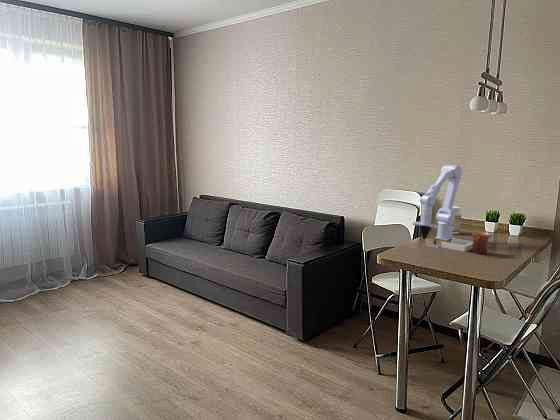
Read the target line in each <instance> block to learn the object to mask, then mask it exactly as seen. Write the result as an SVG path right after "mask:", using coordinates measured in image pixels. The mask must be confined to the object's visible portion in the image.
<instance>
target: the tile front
mask: <svg viewBox="0 0 560 420" xmlns="http://www.w3.org/2000/svg"><path fill="white" fill-rule="evenodd" d="M441 242H447V243H450V242H449V240H443V239H437V240H436V243H435V244H437V245H441Z"/></svg>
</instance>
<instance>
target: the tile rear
mask: <svg viewBox="0 0 560 420" xmlns="http://www.w3.org/2000/svg"><path fill="white" fill-rule="evenodd" d="M436 240H438V239H437V238H435V237H428V236H427V238H426V239H424V242H425V244H426V243H430V244H436Z"/></svg>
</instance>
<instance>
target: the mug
mask: <svg viewBox="0 0 560 420" xmlns="http://www.w3.org/2000/svg"><path fill="white" fill-rule="evenodd" d="M471 234H472V241H473V243H472V249H471V251H472V253H474V254H477V255H486V254H487V253H488V248H489V239H490V237H491V233H488V232H481V231H473V232H472V233H471Z"/></svg>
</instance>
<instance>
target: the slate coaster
mask: <svg viewBox="0 0 560 420" xmlns="http://www.w3.org/2000/svg"><path fill="white" fill-rule="evenodd" d="M422 246H423V247H428V248H433V249H439V248H441V245H437V244H436V243H434V244H432V243H426V242H425V244H423V245H422Z"/></svg>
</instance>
